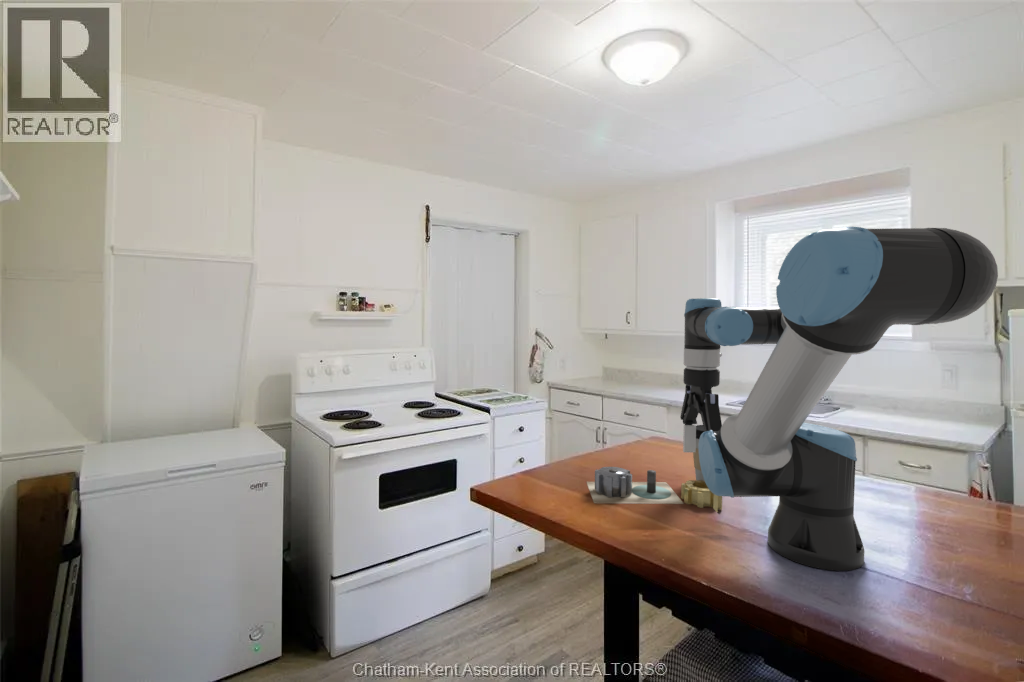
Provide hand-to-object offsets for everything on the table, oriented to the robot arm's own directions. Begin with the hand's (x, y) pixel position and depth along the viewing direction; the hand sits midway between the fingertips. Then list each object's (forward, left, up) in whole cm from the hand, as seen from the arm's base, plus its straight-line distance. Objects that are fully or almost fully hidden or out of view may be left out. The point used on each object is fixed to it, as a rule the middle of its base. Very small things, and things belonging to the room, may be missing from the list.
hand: (699, 461), depth 111 cm
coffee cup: (+13, -7, -11) cm, 18 cm away
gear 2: (0, -1, -11) cm, 11 cm away
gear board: (+5, +14, -11) cm, 18 cm away
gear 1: (+5, +18, -9) cm, 21 cm away
